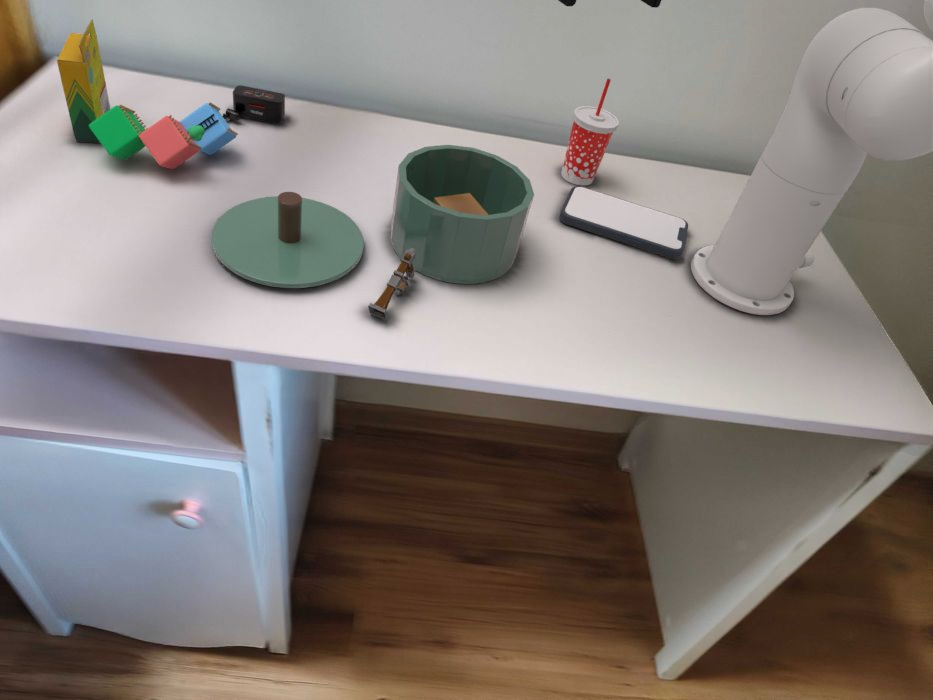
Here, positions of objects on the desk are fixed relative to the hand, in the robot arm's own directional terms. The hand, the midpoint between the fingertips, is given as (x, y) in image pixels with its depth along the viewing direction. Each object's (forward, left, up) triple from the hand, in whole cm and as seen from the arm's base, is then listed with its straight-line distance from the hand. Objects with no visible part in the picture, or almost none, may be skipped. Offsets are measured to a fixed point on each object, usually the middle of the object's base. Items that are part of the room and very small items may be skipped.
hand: (604, 1), depth 62 cm
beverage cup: (-17, -14, -28) cm, 36 cm away
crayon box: (+41, -36, -28) cm, 62 cm away
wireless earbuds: (+22, -36, -28) cm, 51 cm away
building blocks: (+34, -28, -28) cm, 52 cm away
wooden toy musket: (+19, +3, -28) cm, 34 cm away
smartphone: (-16, -2, -28) cm, 33 cm away
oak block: (+8, -4, -28) cm, 29 cm away
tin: (+8, -4, -28) cm, 30 cm away
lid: (+26, -8, -28) cm, 39 cm away
